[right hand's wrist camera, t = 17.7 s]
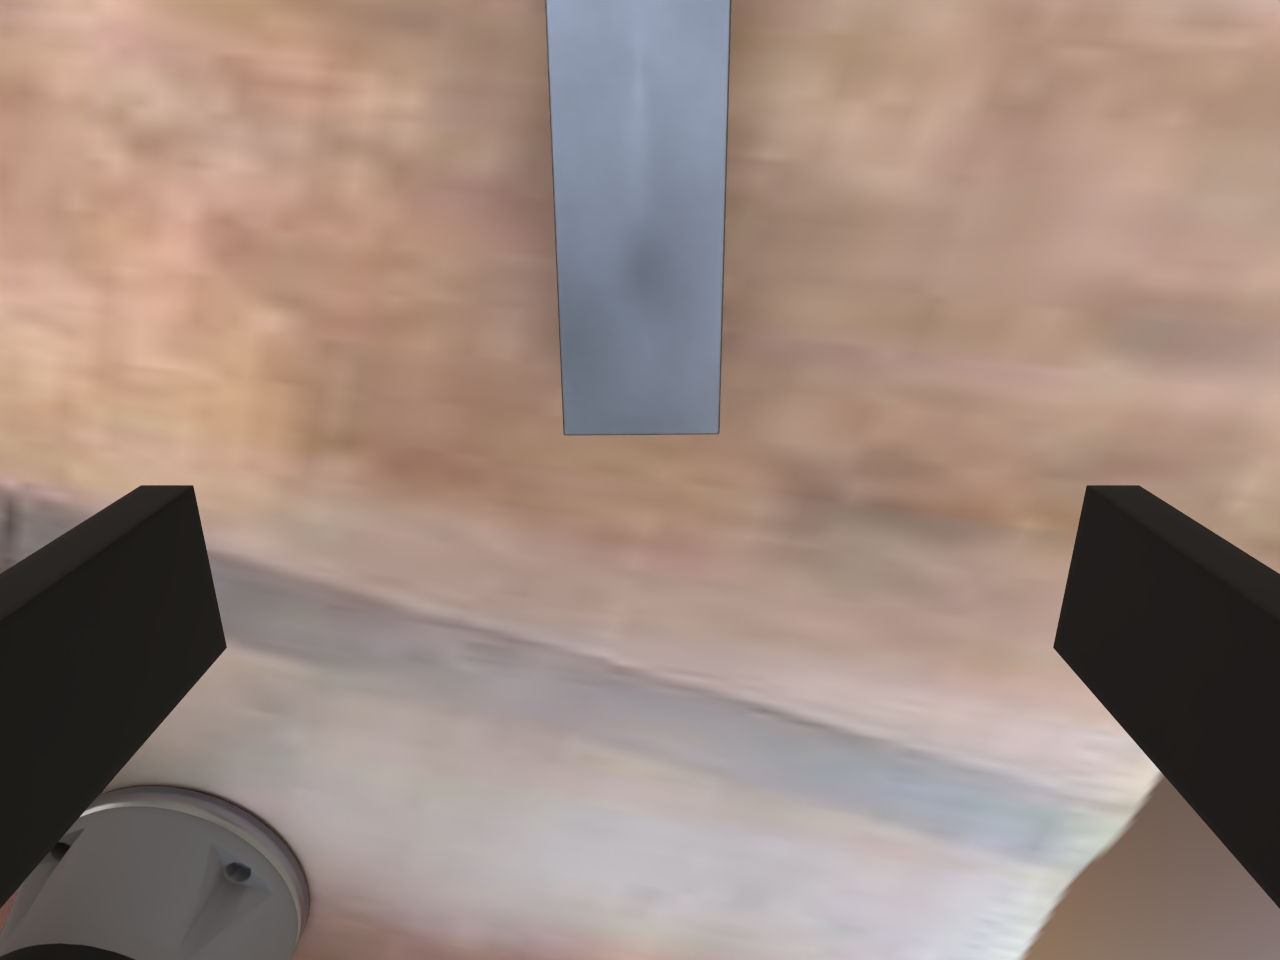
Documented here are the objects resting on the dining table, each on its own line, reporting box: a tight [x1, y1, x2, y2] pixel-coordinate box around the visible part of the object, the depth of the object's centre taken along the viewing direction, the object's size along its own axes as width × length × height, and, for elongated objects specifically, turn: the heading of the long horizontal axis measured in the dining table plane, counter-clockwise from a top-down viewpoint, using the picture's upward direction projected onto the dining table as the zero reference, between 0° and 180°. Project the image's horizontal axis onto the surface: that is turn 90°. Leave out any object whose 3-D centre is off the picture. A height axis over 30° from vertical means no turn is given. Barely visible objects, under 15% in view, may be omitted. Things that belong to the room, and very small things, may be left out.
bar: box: [545, 0, 731, 435], centre depth 29 cm, size 24×6×9 cm, turn 0°
